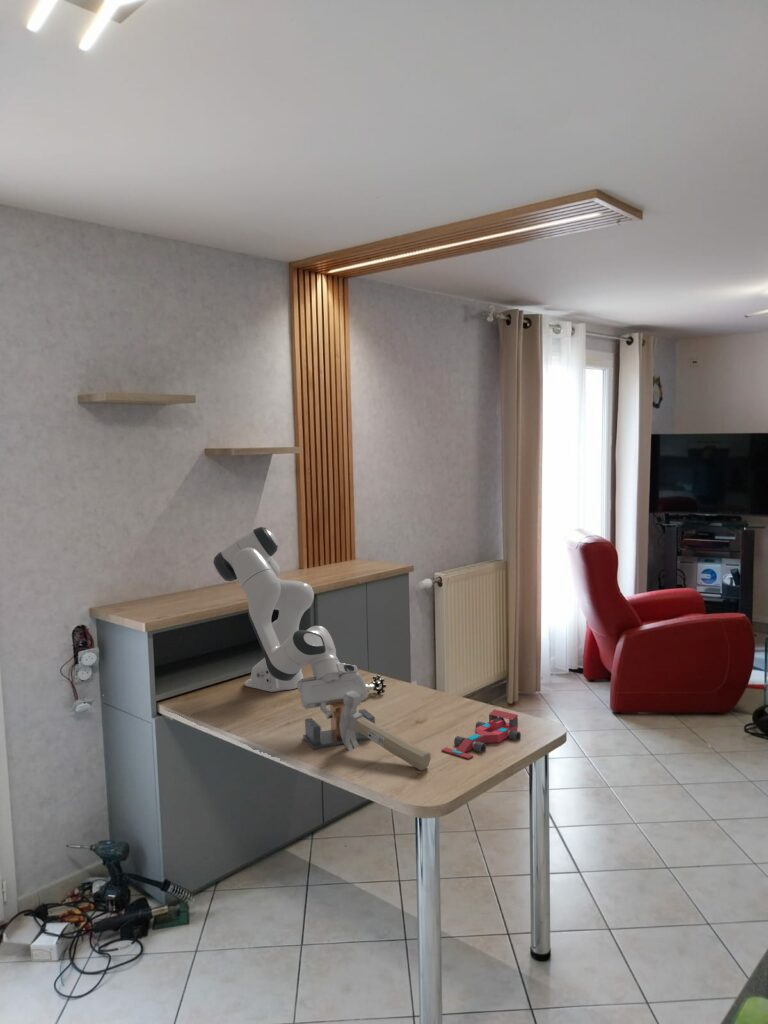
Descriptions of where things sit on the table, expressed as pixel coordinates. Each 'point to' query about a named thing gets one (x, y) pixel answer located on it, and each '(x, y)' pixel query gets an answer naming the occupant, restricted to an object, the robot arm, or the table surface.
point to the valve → (376, 685)
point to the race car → (487, 734)
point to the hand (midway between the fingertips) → (340, 715)
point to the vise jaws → (329, 733)
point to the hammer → (377, 734)
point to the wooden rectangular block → (336, 717)
